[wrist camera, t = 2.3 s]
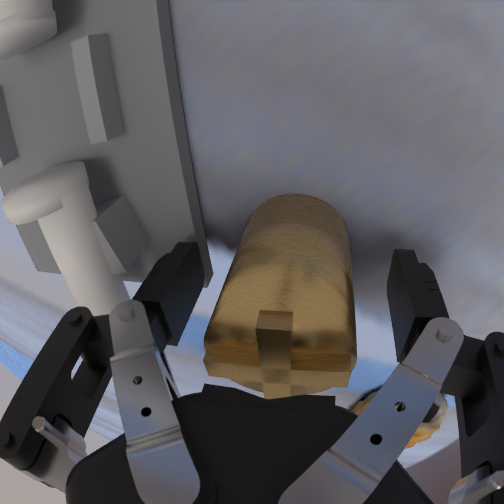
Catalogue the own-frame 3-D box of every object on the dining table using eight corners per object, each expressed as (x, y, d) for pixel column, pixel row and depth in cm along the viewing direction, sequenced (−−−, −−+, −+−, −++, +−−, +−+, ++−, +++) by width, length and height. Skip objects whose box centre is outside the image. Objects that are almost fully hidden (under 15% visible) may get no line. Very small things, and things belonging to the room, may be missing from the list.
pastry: (381, 435, 24) (380, 471, 21) (318, 423, 24) (314, 463, 21) (452, 388, 18) (459, 433, 15) (385, 371, 18) (388, 423, 15)
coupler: (240, 193, 13) (180, 315, 7) (351, 195, 12) (371, 328, 6) (250, 278, 15) (213, 402, 10) (344, 282, 14) (345, 414, 9)
